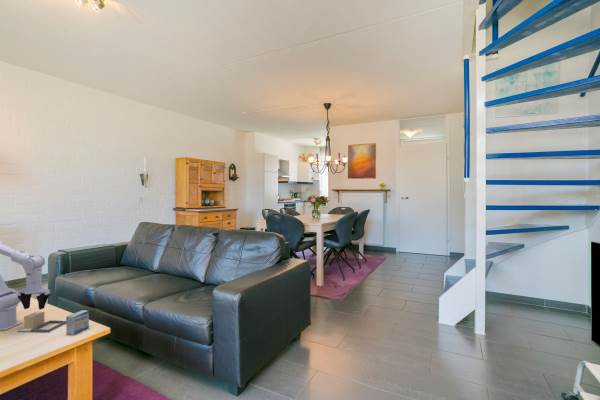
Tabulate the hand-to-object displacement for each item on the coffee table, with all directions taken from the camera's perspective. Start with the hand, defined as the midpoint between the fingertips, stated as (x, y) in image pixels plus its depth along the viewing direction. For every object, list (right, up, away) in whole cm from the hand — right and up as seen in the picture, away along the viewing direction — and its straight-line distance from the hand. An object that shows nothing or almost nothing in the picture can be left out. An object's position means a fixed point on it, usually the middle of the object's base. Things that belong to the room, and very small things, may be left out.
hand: (34, 308), depth 143 cm
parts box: (0, -9, 0) cm, 9 cm away
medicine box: (+24, -10, -4) cm, 27 cm away
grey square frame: (+8, -9, 0) cm, 12 cm away
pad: (0, -9, 0) cm, 9 cm away
